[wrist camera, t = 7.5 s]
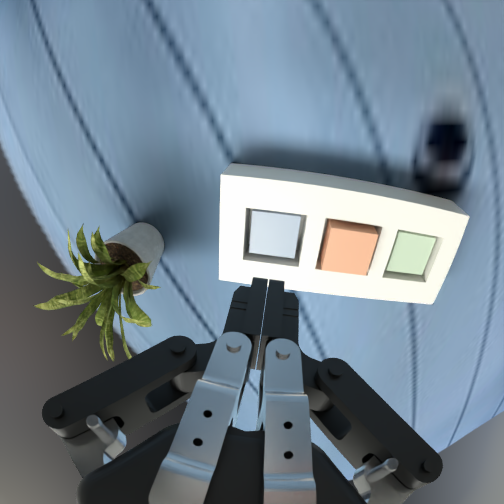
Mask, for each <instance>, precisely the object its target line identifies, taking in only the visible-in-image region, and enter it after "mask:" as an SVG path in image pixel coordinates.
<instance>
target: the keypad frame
mask: <svg viewBox="0 0 504 504" xmlns="http://www.w3.org/2000/svg"><path fill="white" fill-rule="evenodd" d="M253 209H262V210H270V211H278V212H286V213H294V214H301V221H300V227H299V233H298V239H297V246H296V252H295V258H287V257H279V256H271V255H263V254H256V253H249V247H250V233H251V219H252V210H253ZM328 218H330V219H337V220H343V221H350V222H356V223H363V224H369V225H374V227H375V229H376V231H377V233H378V238H377V242H376V245H375V248H374V252H373V255H372V258H371V261H370V264H369V267H368V270H367V274H366V276H364V275H356V274H348V273H340V272H332V271H324V270H322V269H321V260H320V255H321V250H322V246H323V241H324V236H325V231H326V226H327V221H328ZM468 219H469V215H467V214H466V213H465V212H464V211H463V210H462V209H461V208H460V207H459V206H457V205H456V204H455V203H454V202H453V201H452V200H448V199H444V198H440V197H436V196H432V195H428V194H424V193H420V192H416V191H411V190H407V189H402V188H398V187H393V186H388V185H384V184H379V183H373V182H368V181H363V180H357V179H352V178H346V177H340V176H334V175H327V174H321V173H314V172H307V171H300V170H292V169H284V168H276V167H267V166H257V165H247V164H235V163H231V164H230V165H229V166H228V167H227V168H226V169H225V170H224V172H223V173H222V174H221V186H220V234H219V280H224V281H231V282H238V283H246V284H252V279H253V277H258V278H266V279H268V284H267V286H268V285H269V279H273V280H281V281H285V285H284V289H291V290H299V291H307V292H315V293H324V294H332V295H341V296H350V297H360V298H369V299H379V300H390V301H400V302H411V303H423V304H433V302H434V300H435V298H436V296H437V294H438V292H439V290H440V288H441V286H442V284H443V282H444V279H445V277H446V275H447V273H448V270H449V268H450V266H451V264H452V261H453V259H454V256H455V254H456V252H457V249H458V247H459V244H460V241H461V239H462V236H463V233H464V231H465V228H466V225H467V222H468ZM398 229H399V230H404V231H410V232H415V233H421V234H426V235H431V236H434V237H435V238H436V240H435V243H434V246H433V248H432V251H431V254H430V256H429V259H428V261H427V264H426V266H425V269H424V271H423V273H422V275H418V274H410V273H402V272H395V271H387V270H386V265H387V262H388V259H389V256H390V253H391V250H392V247H393V244H394V241H395V238H396V234H397V231H398Z"/></svg>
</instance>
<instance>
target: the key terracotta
mask: <svg viewBox="0 0 504 504" xmlns="http://www.w3.org/2000/svg"><path fill="white" fill-rule="evenodd" d="M377 238H378V233H377V231H376V229H375V227H374V225H369V224H363V223H356V222H350V221H343V220H337V219H330V218H328V221H327V226H326V231H325V236H324V241H323V246H322V250H321V255H320V260H321V269H322V270H324V271H332V272H340V273H348V274H356V275H364V276H366V274H367V270H368V267H369V264H370V261H371V258H372V255H373V252H374V248H375V245H376V242H377Z"/></svg>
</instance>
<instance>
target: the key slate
mask: <svg viewBox="0 0 504 504" xmlns="http://www.w3.org/2000/svg"><path fill="white" fill-rule="evenodd" d="M300 221H301V214H294V213H286V212H278V211H270V210H262V209H253V210H252V219H251V233H250V247H249V253H256V254H263V255H271V256H279V257H287V258H295V252H296V246H297V239H298V233H299V227H300Z"/></svg>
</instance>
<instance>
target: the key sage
mask: <svg viewBox="0 0 504 504" xmlns="http://www.w3.org/2000/svg"><path fill="white" fill-rule="evenodd" d="M435 240H436V238H435V237H434V236H431V235H426V234H421V233H415V232H410V231H404V230H399V229H398V231H397V234H396V238H395V241H394V244H393V247H392V250H391V253H390V256H389V259H388V262H387V265H386V270H387V271H395V272H402V273H410V274H418V275H422V273H423V271H424V269H425V266H426V264H427V261H428V259H429V256H430V254H431V251H432V248H433V246H434V243H435Z"/></svg>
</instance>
